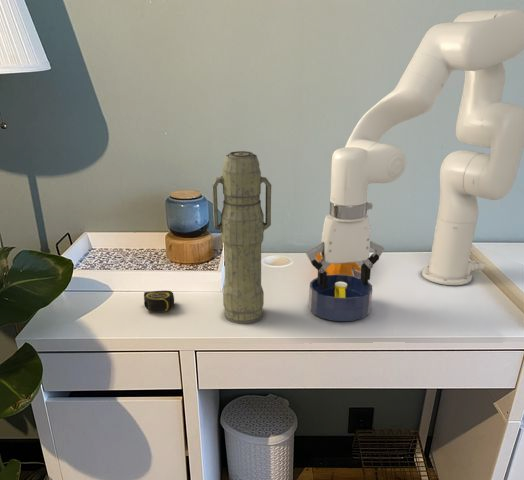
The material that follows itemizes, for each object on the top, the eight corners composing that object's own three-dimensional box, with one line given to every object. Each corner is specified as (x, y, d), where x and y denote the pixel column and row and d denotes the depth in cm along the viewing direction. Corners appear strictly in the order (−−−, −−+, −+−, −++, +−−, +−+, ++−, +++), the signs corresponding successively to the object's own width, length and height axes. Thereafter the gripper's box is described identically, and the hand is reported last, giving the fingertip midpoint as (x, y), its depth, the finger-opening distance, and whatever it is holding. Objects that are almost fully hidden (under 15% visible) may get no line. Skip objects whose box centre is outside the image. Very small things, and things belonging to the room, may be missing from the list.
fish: (366, 240, 153) (314, 224, 152) (372, 292, 132) (312, 274, 130) (357, 261, 157) (306, 245, 156) (361, 314, 136) (303, 297, 134)
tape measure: (174, 302, 132) (173, 287, 130) (175, 314, 126) (174, 299, 124) (144, 304, 131) (143, 289, 129) (144, 316, 125) (143, 301, 123)
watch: (331, 302, 130) (332, 278, 128) (342, 302, 131) (344, 278, 128) (335, 313, 125) (337, 289, 122) (347, 313, 125) (349, 288, 122)
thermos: (274, 321, 123) (276, 156, 106) (221, 326, 121) (215, 158, 104) (265, 304, 131) (266, 148, 113) (215, 309, 128) (208, 150, 111)
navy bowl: (358, 295, 135) (360, 272, 132) (378, 321, 123) (381, 296, 120) (302, 299, 133) (303, 276, 130) (317, 325, 121) (319, 300, 118)
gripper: (380, 202, 121) (374, 275, 130) (303, 208, 119) (302, 282, 128) (393, 212, 115) (385, 288, 124) (312, 218, 113) (310, 295, 121)
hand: (343, 285), depth 126 cm, fingers open, 9 cm apart
